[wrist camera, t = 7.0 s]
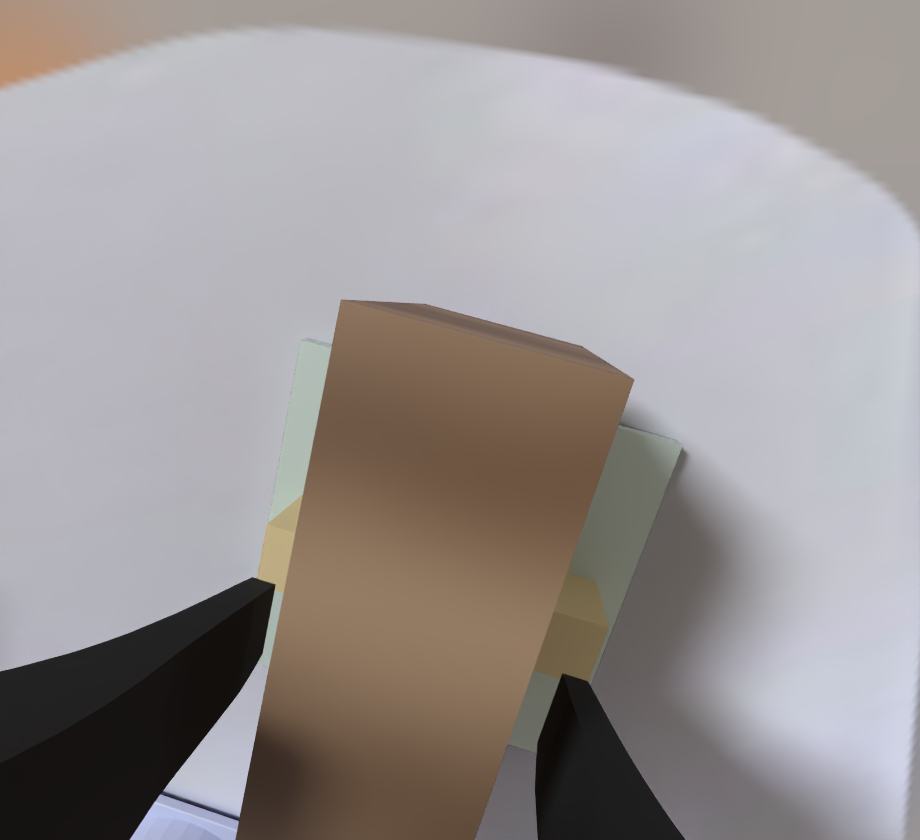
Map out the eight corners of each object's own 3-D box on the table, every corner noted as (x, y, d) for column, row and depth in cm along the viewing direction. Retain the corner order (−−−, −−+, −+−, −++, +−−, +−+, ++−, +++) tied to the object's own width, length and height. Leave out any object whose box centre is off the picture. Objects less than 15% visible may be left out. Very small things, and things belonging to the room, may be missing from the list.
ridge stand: (560, 747, 18) (567, 829, 15) (251, 648, 19) (202, 709, 16) (676, 440, 16) (712, 470, 13) (308, 338, 16) (261, 344, 13)
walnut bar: (427, 833, 16) (373, 1129, 10) (309, 793, 16) (192, 1061, 11) (581, 346, 12) (634, 378, 7) (425, 303, 13) (341, 299, 7)
